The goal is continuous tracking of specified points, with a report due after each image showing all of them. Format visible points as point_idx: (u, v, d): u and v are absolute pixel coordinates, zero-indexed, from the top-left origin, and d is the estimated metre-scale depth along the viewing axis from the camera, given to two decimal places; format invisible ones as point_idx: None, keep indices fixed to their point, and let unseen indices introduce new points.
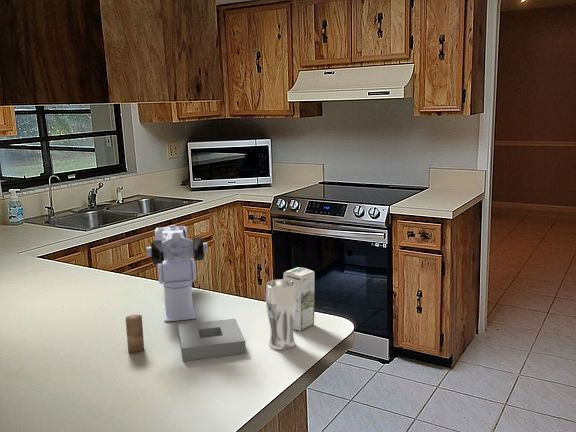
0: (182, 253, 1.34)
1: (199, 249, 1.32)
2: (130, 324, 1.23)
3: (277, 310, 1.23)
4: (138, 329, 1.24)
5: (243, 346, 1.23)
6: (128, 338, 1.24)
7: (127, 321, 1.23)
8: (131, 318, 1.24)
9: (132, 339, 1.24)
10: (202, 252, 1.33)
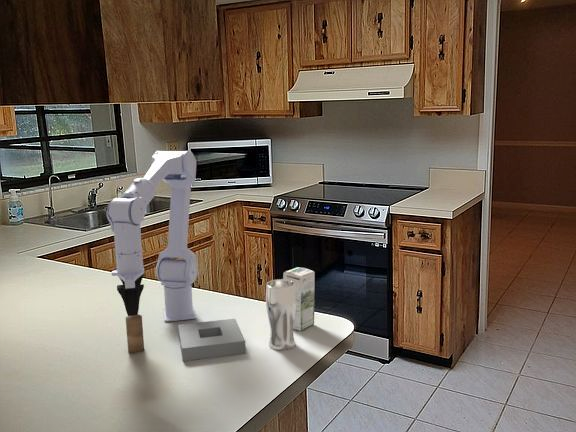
0: None
1: None
2: (130, 324, 1.23)
3: (277, 310, 1.23)
4: (138, 329, 1.24)
5: (243, 346, 1.23)
6: (128, 338, 1.24)
7: (127, 321, 1.23)
8: (131, 318, 1.24)
9: (132, 339, 1.24)
10: (134, 289, 1.18)
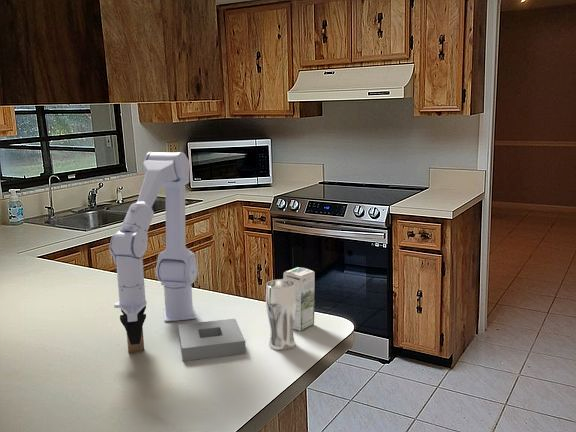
0: None
1: None
2: None
3: (277, 310, 1.23)
4: None
5: (243, 346, 1.23)
6: None
7: None
8: None
9: None
10: (137, 319, 1.21)
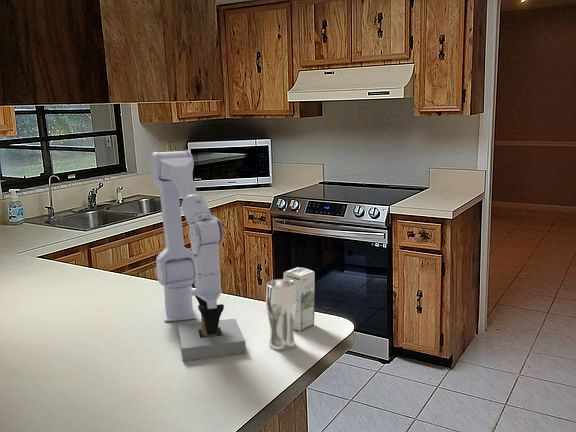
0: None
1: None
2: None
3: (277, 310, 1.23)
4: None
5: (243, 346, 1.23)
6: (203, 333, 1.27)
7: None
8: None
9: None
10: (215, 309, 1.21)
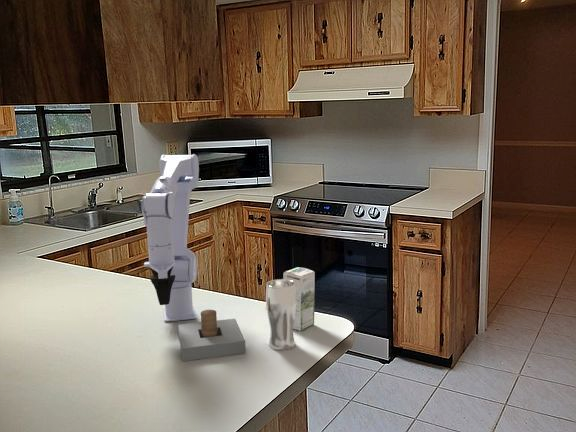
0: None
1: None
2: (205, 319, 1.25)
3: (277, 310, 1.23)
4: (213, 324, 1.26)
5: (243, 346, 1.23)
6: (203, 333, 1.27)
7: (202, 316, 1.26)
8: (206, 313, 1.26)
9: (207, 333, 1.26)
10: (167, 279, 1.24)
